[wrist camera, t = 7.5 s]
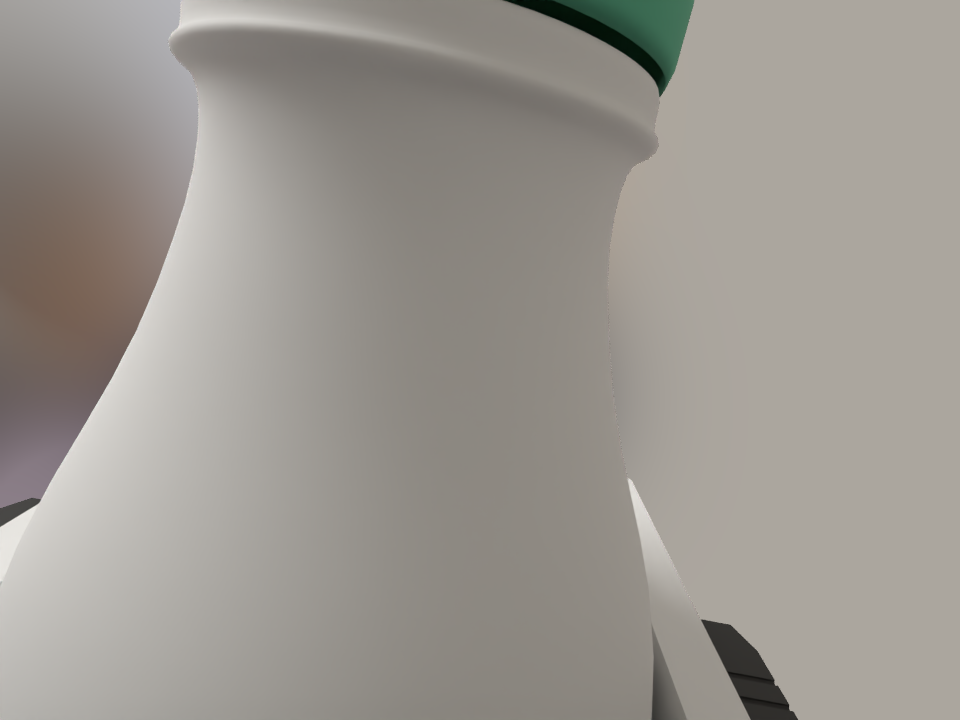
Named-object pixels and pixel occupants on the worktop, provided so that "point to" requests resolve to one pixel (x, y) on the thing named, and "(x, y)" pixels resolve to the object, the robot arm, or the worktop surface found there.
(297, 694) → the milk bottle
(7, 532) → the robot arm
